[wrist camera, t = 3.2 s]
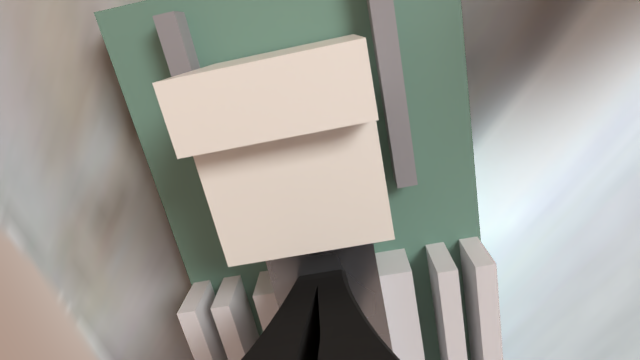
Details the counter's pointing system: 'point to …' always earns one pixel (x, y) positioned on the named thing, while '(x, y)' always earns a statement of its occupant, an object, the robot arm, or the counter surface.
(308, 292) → the robot arm
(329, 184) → the clip
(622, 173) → the counter surface
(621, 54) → the counter surface
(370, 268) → the strap
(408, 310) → the heatsink board
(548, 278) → the counter surface
